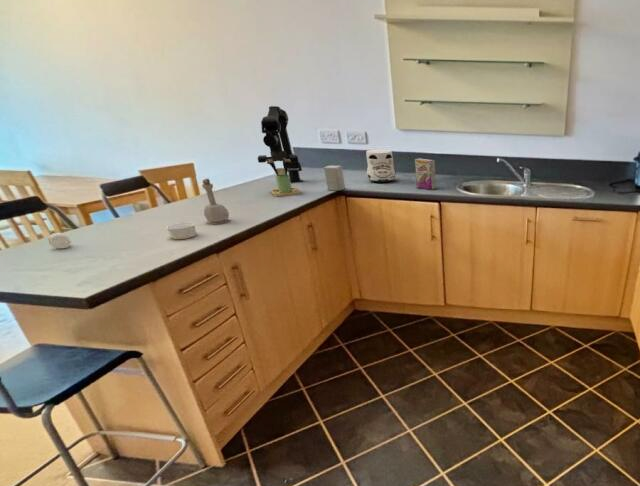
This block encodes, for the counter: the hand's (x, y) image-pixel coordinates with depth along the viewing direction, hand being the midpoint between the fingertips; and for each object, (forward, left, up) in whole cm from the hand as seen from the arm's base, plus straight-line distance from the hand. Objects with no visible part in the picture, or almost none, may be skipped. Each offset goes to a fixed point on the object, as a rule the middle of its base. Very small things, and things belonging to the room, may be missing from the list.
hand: (282, 175), depth 223 cm
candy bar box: (+28, +71, -10) cm, 77 cm away
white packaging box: (+4, +26, -10) cm, 28 cm away
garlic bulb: (+47, -84, -10) cm, 97 cm away
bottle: (0, 0, -9) cm, 9 cm away
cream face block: (-4, +57, -10) cm, 58 cm away
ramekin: (+56, -49, -10) cm, 75 cm away
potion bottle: (+41, -36, -10) cm, 56 cm away
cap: (0, 0, 0) cm, 1 cm away
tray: (0, 0, -10) cm, 10 cm away
